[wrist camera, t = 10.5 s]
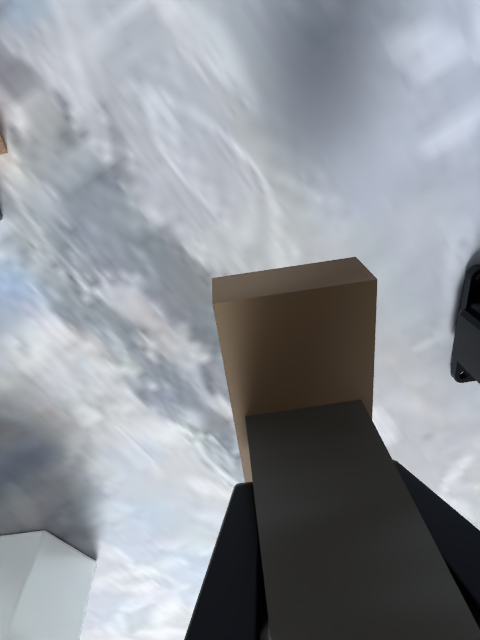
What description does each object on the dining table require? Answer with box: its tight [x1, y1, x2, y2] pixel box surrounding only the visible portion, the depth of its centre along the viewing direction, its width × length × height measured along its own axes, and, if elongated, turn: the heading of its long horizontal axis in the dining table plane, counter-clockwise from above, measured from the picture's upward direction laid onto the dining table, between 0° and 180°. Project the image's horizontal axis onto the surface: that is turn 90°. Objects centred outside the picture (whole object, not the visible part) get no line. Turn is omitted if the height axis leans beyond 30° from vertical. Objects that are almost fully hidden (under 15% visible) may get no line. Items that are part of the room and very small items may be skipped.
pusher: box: [212, 257, 480, 640], centre depth 7 cm, size 3×8×6 cm, turn 7°
